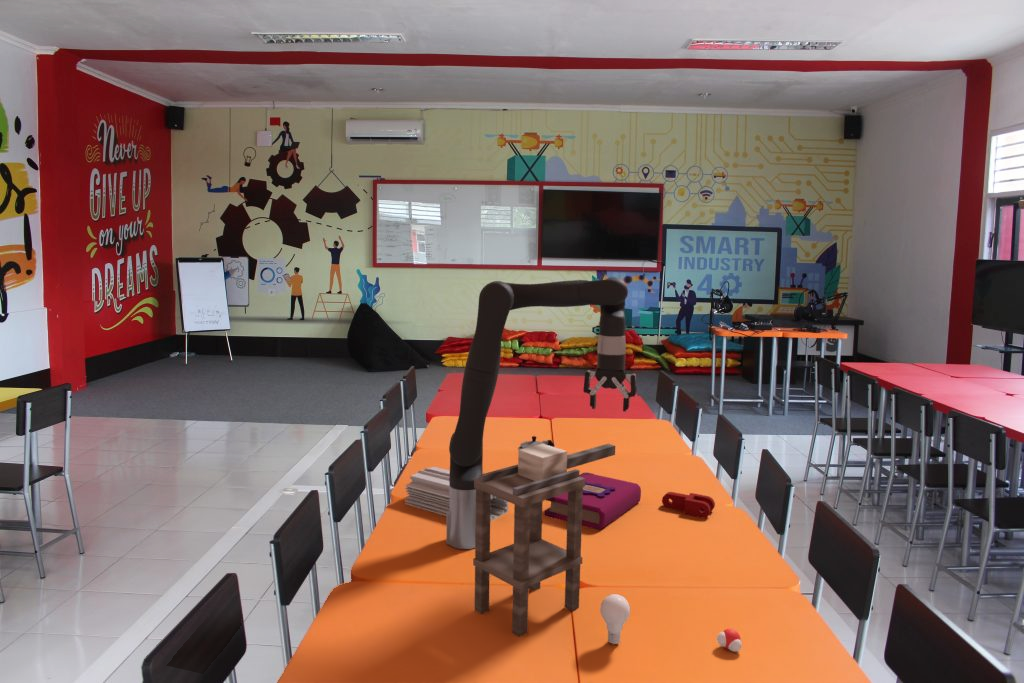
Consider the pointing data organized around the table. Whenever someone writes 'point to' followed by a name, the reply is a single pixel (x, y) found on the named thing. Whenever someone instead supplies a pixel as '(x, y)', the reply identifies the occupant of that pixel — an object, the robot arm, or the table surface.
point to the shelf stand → (527, 539)
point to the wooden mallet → (556, 460)
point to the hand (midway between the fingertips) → (609, 409)
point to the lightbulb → (615, 615)
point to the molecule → (730, 640)
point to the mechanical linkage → (689, 503)
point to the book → (598, 500)
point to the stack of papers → (441, 493)
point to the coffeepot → (534, 443)
